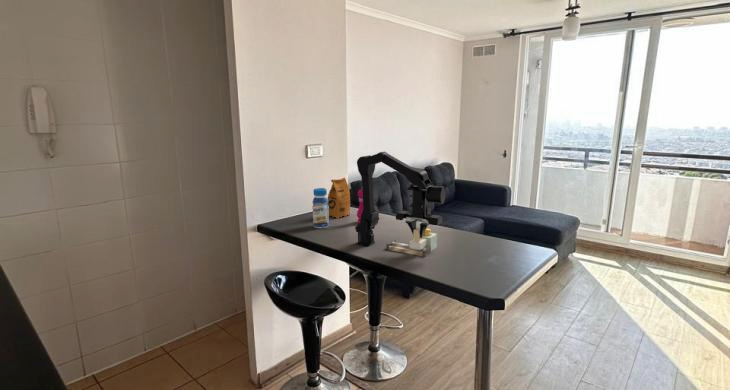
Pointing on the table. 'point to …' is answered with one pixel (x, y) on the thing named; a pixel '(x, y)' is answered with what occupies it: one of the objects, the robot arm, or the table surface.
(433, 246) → the button housing
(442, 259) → the table surface
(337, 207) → the coffee package
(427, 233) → the button
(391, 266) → the table surface
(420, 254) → the rail
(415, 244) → the carriage
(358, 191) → the pepper mill
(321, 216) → the beverage bottle
